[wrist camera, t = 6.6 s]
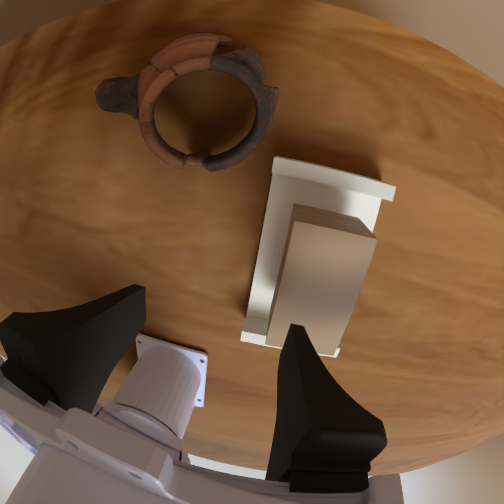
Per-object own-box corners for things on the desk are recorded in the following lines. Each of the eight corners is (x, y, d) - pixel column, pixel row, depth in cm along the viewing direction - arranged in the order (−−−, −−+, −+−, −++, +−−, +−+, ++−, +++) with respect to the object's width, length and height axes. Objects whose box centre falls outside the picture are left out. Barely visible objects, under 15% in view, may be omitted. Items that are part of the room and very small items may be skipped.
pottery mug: (270, 32, 16) (297, 42, 11) (258, 135, 23) (273, 189, 18) (114, 39, 14) (64, 58, 9) (124, 139, 21) (93, 195, 16)
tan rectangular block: (327, 317, 21) (333, 355, 16) (270, 306, 21) (265, 344, 17) (358, 218, 18) (377, 239, 13) (293, 203, 18) (294, 220, 14)
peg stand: (332, 335, 24) (336, 357, 21) (245, 319, 24) (240, 340, 22) (382, 181, 18) (396, 187, 16) (276, 155, 19) (274, 156, 16)
